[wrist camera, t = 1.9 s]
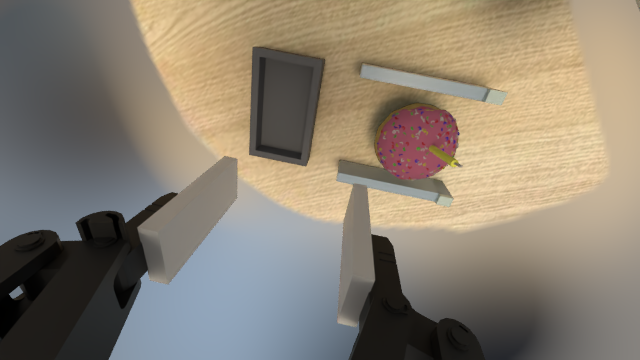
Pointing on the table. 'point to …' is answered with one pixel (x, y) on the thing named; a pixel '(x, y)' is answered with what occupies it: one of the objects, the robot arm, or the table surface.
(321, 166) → the table surface
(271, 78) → the bin
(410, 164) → the cupcake
